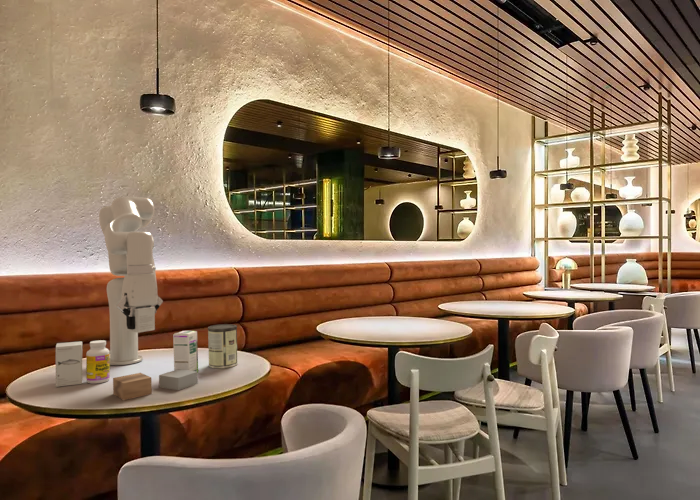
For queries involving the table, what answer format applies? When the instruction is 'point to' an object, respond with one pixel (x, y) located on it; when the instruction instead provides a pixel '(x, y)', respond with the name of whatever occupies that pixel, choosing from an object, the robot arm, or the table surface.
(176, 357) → the syrup box
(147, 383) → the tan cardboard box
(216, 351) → the coffee can
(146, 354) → the table surface
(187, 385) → the grey block
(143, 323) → the product box
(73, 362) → the supplement box
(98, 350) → the supplement bottle
